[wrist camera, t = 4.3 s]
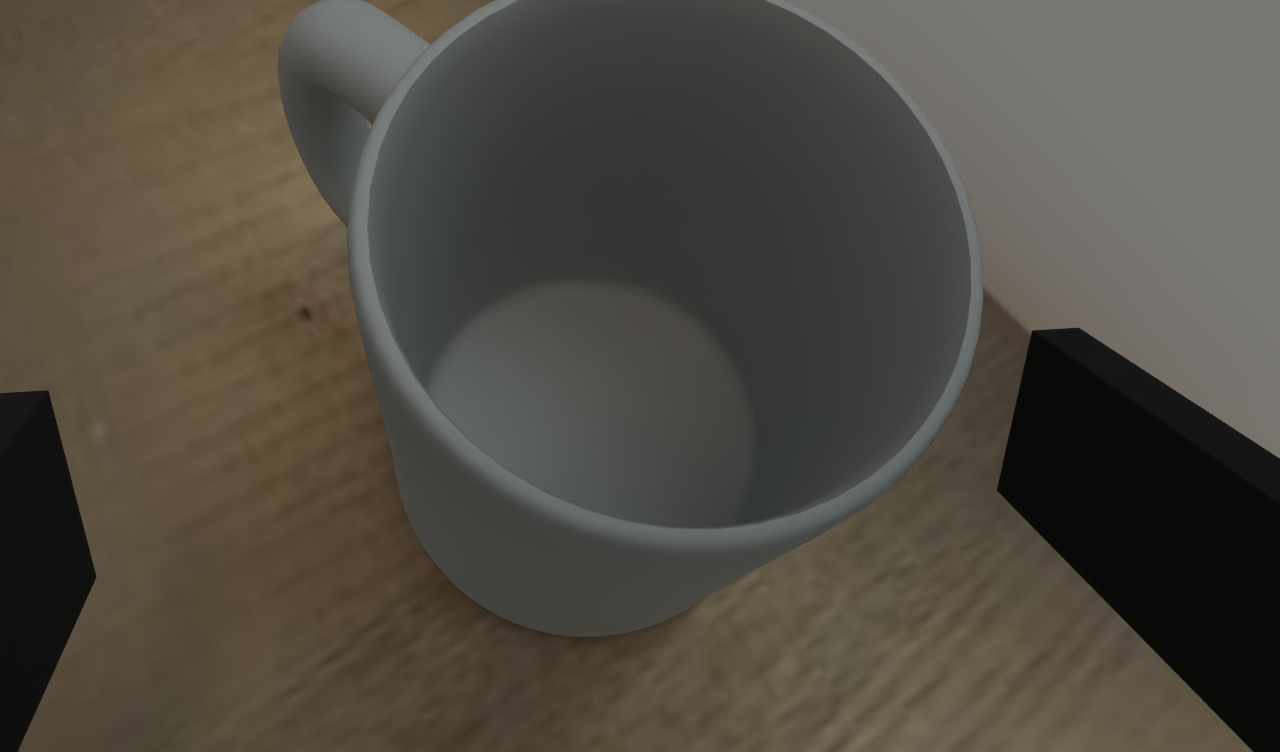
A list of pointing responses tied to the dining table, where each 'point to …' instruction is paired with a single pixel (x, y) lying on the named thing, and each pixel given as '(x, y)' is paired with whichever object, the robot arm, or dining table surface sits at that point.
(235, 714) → the dining table surface
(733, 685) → the dining table surface
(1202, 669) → the robot arm
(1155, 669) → the dining table surface
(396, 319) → the mug
